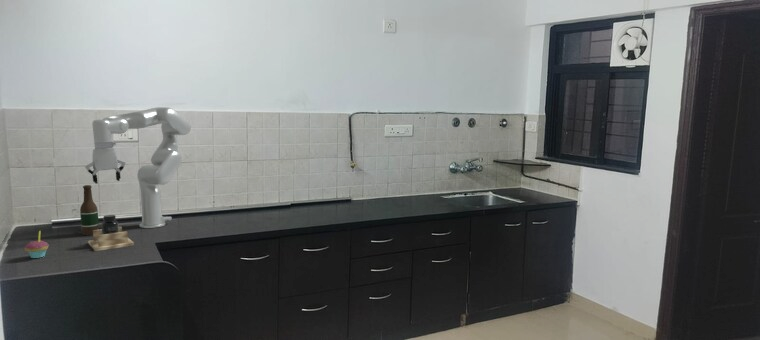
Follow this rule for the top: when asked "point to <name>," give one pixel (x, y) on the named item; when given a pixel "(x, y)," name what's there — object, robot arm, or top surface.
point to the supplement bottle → (110, 225)
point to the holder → (109, 240)
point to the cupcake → (36, 248)
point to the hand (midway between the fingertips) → (107, 181)
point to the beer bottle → (88, 213)
